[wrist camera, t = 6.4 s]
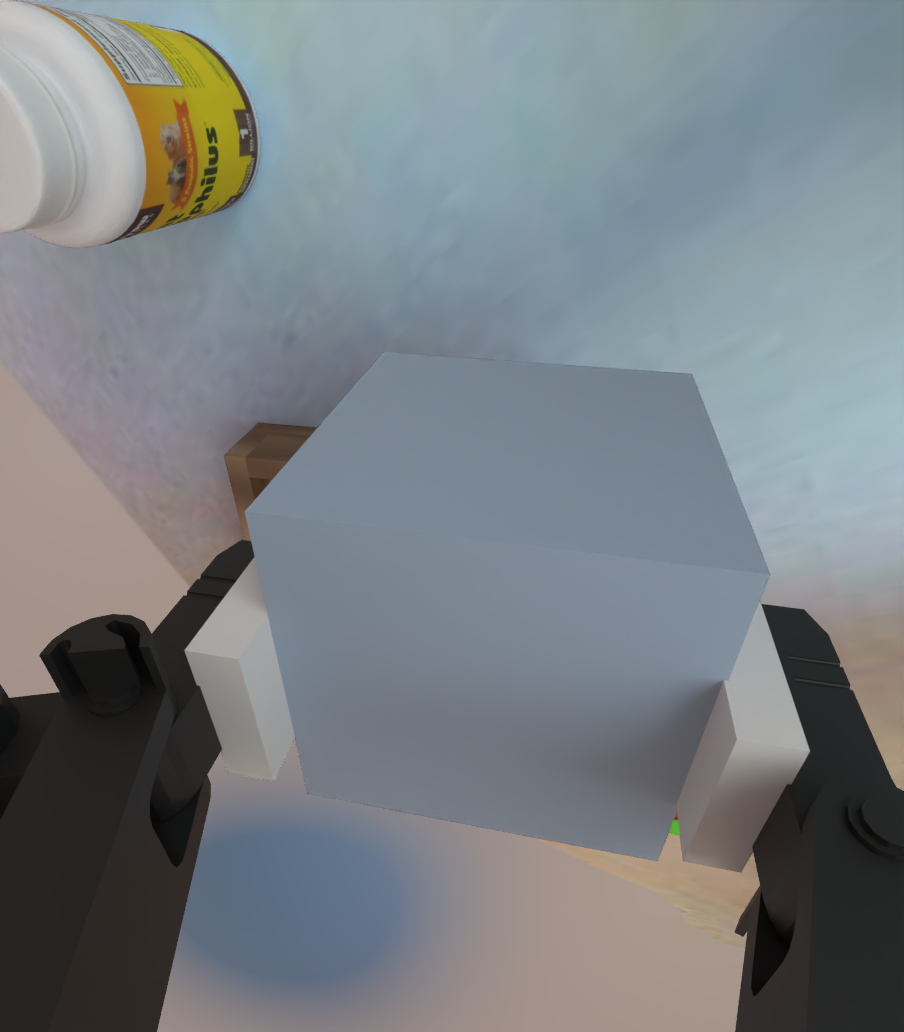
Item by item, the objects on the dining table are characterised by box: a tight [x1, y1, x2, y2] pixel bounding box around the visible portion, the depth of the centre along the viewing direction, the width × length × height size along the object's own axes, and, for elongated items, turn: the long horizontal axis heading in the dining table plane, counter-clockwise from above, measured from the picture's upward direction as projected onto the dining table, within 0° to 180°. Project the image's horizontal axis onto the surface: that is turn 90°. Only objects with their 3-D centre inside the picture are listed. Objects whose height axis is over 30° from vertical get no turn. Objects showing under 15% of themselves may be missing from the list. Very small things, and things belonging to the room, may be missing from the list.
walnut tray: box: [224, 423, 317, 541], centre depth 31 cm, size 16×16×3 cm
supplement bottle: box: [0, 0, 261, 248], centre depth 18 cm, size 6×6×10 cm
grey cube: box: [245, 352, 770, 861], centre depth 11 cm, size 6×6×6 cm
